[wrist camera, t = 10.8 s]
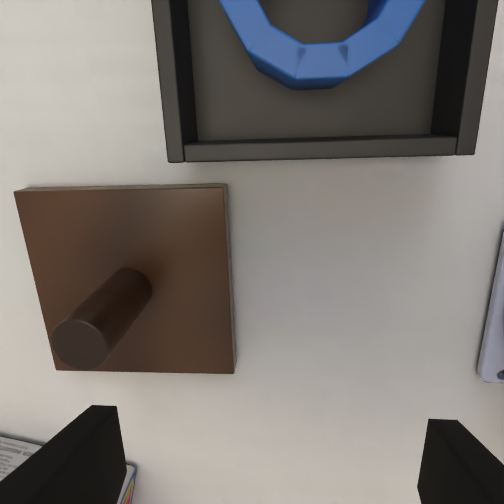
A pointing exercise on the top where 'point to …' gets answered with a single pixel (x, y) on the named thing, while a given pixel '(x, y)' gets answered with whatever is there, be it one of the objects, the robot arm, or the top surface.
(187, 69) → the tray
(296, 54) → the tape roll
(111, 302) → the tape holder
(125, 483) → the ink cartridge box
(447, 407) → the top surface
